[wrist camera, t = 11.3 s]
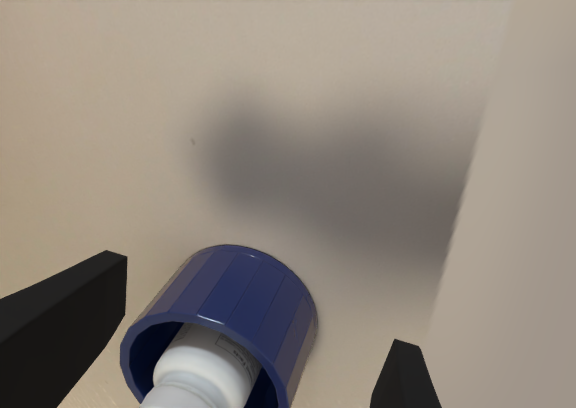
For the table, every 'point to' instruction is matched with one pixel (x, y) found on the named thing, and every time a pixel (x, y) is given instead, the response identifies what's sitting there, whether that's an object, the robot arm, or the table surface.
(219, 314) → the bowl
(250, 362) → the pill bottle
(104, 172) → the table surface
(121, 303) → the robot arm
